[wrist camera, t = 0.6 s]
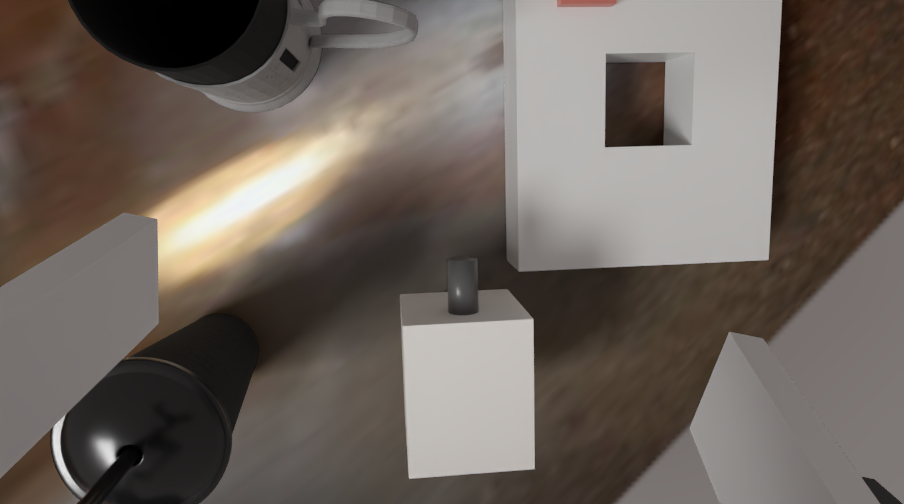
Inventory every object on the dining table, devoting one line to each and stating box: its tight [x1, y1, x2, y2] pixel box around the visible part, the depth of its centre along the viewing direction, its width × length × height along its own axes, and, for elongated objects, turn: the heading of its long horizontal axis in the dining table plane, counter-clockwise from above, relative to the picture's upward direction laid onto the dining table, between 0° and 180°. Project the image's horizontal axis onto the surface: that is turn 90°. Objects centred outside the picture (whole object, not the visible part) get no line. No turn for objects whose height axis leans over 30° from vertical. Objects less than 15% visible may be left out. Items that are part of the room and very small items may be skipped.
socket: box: [503, 0, 782, 272], centre depth 39 cm, size 20×16×5 cm
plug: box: [400, 256, 535, 479], centre depth 37 cm, size 11×6×11 cm, turn 2°
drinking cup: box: [50, 314, 259, 504], centre depth 31 cm, size 8×8×20 cm
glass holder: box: [68, 0, 418, 112], centre depth 32 cm, size 9×14×15 cm, turn 83°
